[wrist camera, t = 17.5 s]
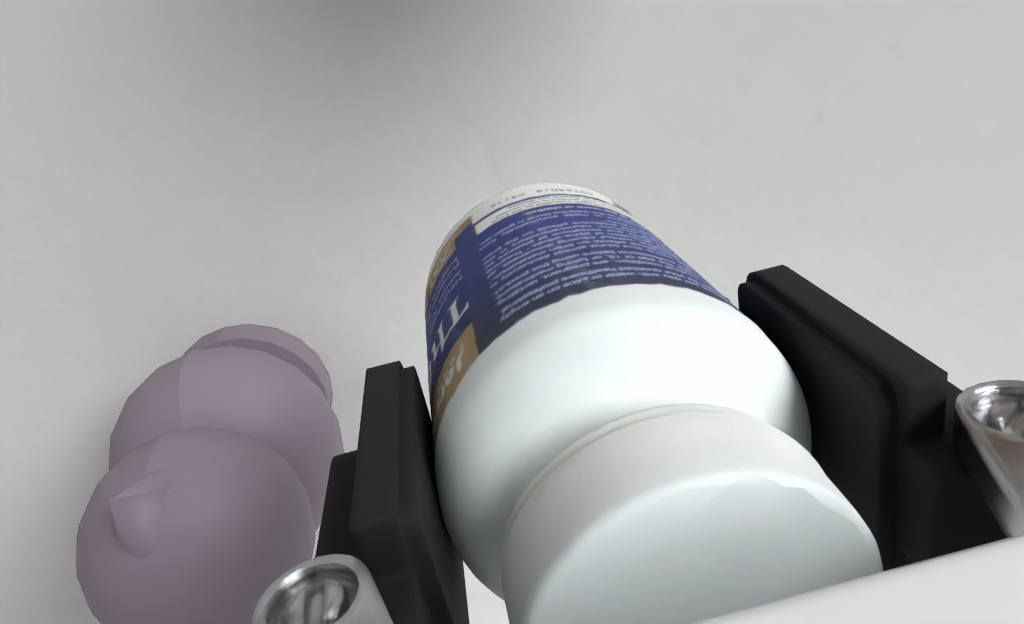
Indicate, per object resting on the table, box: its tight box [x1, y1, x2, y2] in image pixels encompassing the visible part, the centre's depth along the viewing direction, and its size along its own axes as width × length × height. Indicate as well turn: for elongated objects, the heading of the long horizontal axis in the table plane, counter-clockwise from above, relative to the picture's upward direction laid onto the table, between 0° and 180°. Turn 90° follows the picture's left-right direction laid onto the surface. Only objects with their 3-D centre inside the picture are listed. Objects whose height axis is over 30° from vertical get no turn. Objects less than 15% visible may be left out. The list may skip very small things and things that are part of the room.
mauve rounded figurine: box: [76, 324, 344, 624], centre depth 24 cm, size 8×8×12 cm
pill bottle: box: [425, 183, 883, 624], centre depth 12 cm, size 5×5×10 cm
